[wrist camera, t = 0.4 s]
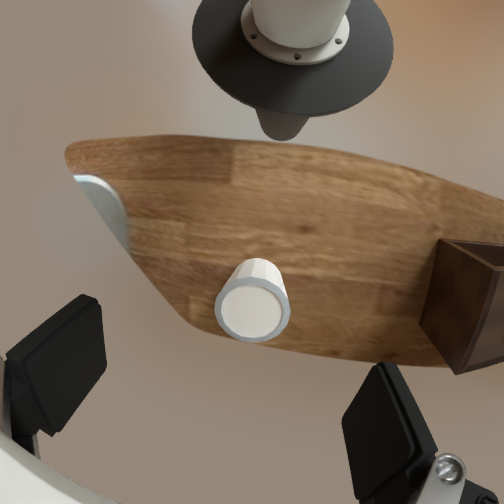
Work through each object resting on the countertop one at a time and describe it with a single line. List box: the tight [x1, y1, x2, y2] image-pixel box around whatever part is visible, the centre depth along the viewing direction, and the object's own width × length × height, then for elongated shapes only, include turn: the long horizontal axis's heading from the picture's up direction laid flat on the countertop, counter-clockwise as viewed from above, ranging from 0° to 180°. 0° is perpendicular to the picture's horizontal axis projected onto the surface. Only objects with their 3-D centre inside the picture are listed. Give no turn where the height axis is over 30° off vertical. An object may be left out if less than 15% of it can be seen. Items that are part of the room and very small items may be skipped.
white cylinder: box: [214, 258, 290, 343], centre depth 28 cm, size 7×7×7 cm
